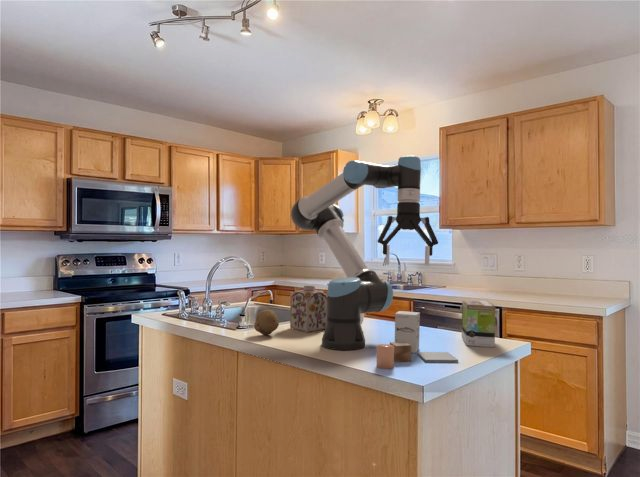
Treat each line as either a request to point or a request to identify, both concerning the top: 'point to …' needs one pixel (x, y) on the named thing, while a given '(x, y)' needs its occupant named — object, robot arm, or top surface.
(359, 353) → the top surface
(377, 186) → the robot arm
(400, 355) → the walnut block
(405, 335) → the supplement box
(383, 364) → the peach rounded cylinder
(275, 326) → the natural sponge
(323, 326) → the decorative jar
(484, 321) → the tea box
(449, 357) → the slate tile
